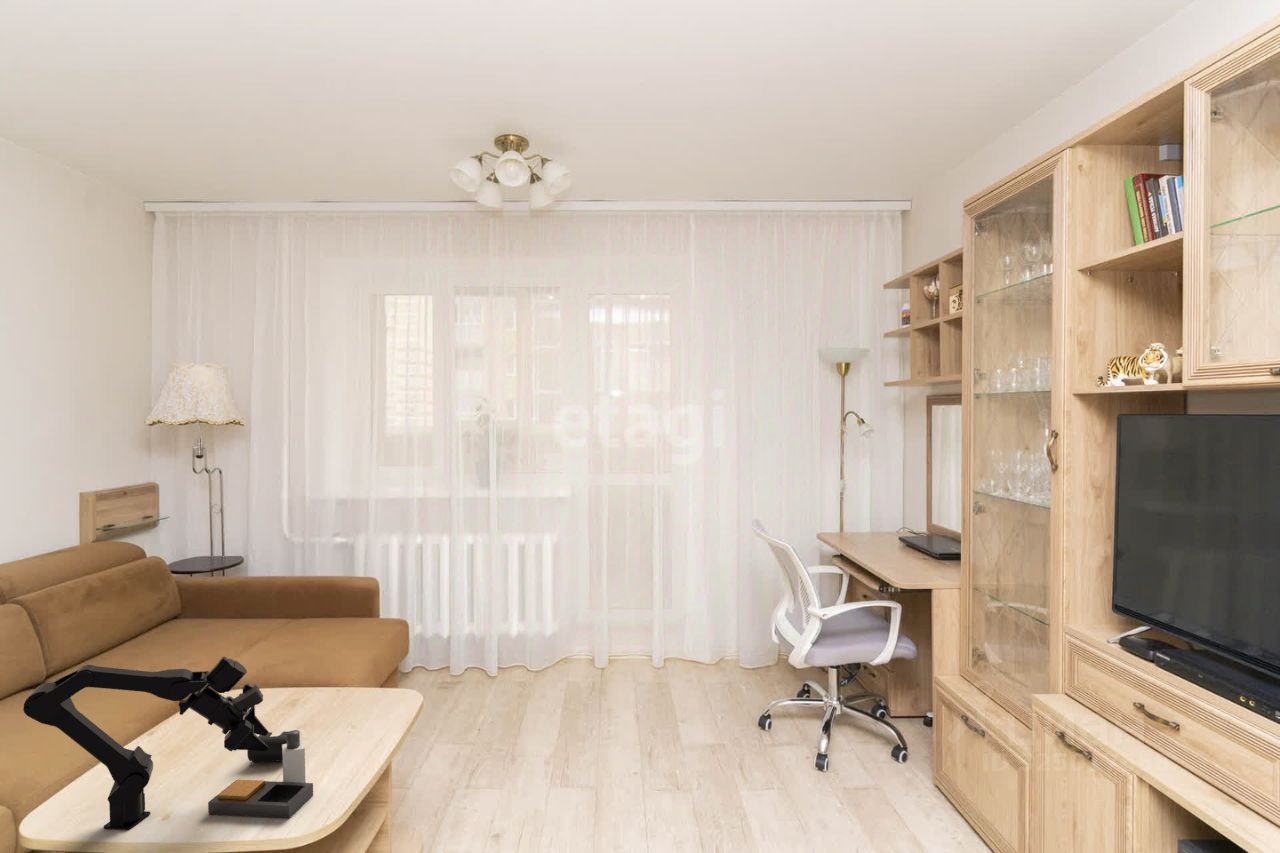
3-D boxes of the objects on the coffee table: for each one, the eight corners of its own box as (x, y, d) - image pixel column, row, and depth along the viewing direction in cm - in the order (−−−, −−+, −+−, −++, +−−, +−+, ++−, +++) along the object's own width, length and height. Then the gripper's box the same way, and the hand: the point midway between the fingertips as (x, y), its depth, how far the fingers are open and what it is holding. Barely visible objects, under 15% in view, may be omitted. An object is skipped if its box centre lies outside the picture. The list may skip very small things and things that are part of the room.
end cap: (247, 768, 188) (246, 742, 187) (259, 755, 195) (258, 730, 194) (286, 765, 189) (285, 740, 188) (296, 752, 196) (296, 728, 195)
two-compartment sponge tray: (289, 818, 164) (288, 801, 164) (208, 814, 166) (208, 798, 166) (313, 795, 174) (312, 779, 174) (236, 791, 176) (236, 775, 176)
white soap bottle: (283, 790, 176) (282, 739, 176) (283, 781, 180) (281, 730, 180) (305, 785, 178) (304, 734, 178) (304, 776, 183) (303, 726, 182)
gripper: (238, 692, 165) (292, 728, 171) (242, 667, 182) (291, 700, 187) (200, 733, 162) (256, 769, 167) (207, 703, 178) (258, 737, 184)
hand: (267, 741), depth 176 cm, fingers open, 9 cm apart
